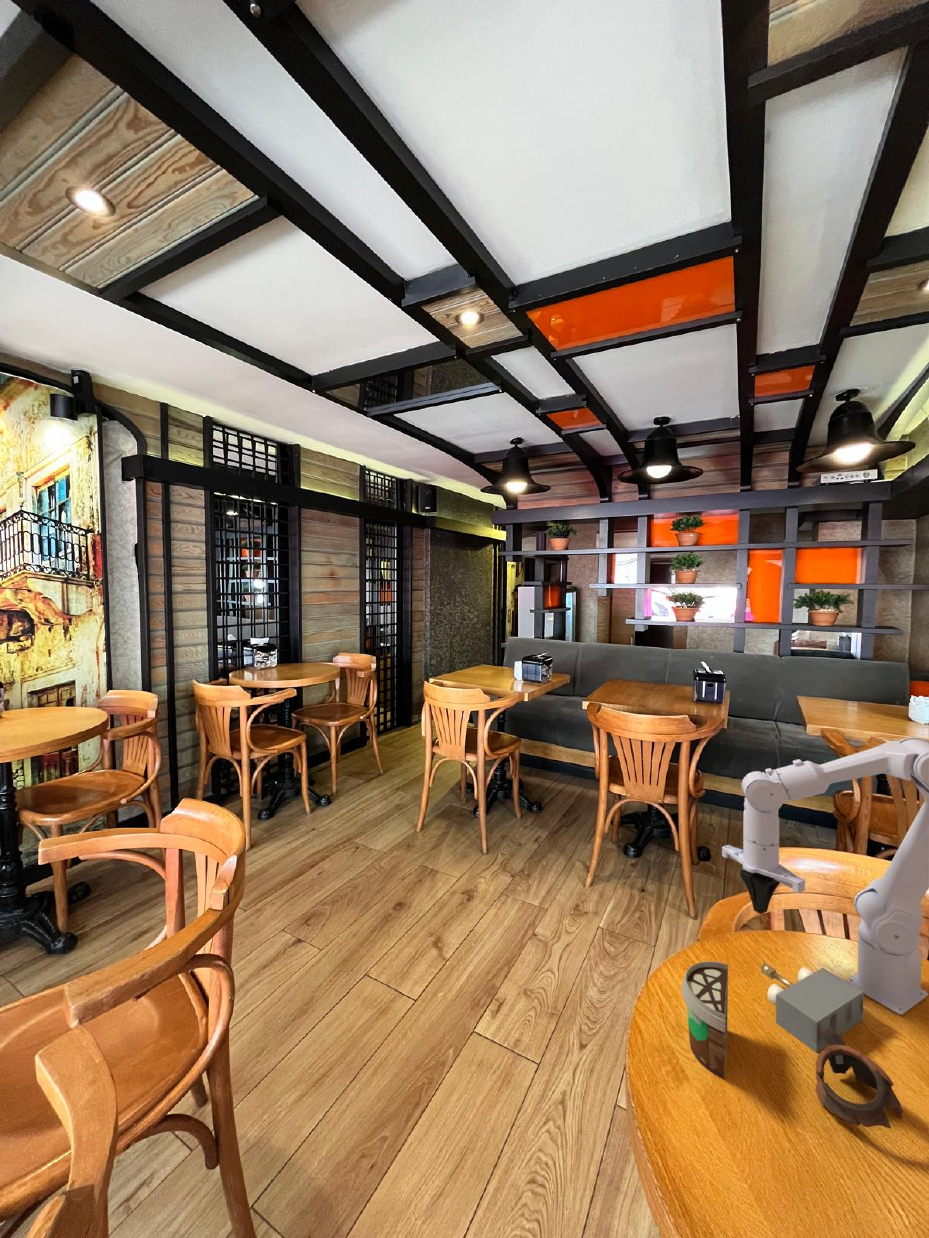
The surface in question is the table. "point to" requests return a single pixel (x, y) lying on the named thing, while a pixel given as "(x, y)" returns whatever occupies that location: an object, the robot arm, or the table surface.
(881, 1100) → the jagged brown ring
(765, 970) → the pot shaft
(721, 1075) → the food container
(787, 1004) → the grey slotted box
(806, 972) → the knob
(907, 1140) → the table surface
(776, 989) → the knob
